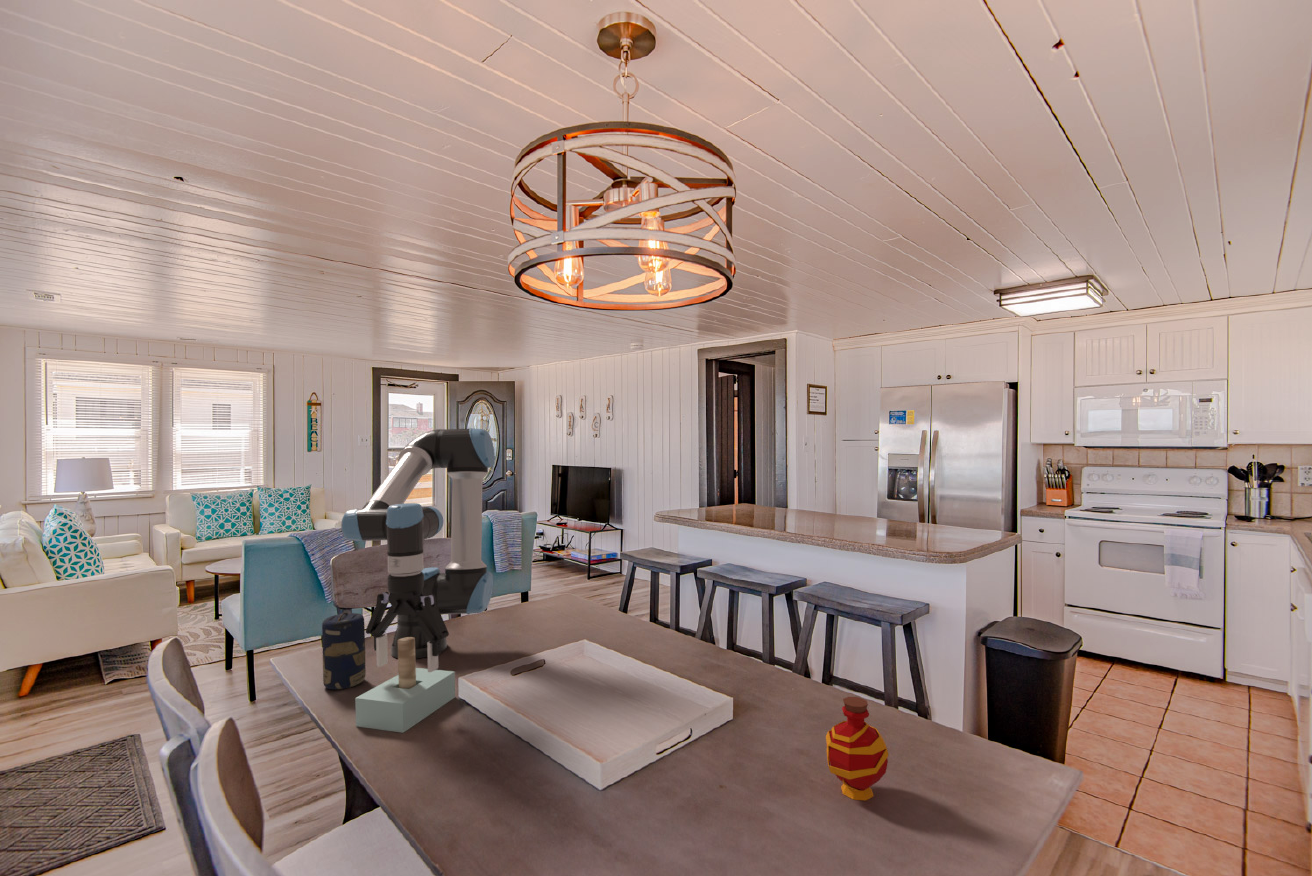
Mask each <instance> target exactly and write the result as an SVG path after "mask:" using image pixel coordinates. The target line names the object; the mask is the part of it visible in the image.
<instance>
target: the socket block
mask: <svg viewBox="0 0 1312 876" xmlns="http://www.w3.org/2000/svg"><path fill="white" fill-rule="evenodd" d="M455 698H456V671H453V670H442V669H436V670H434V671H432V672H428V668H422V667H416V686H414V687H412V688H411V689H403V688H399V675H398V674H397V675H395V676H394V677H392V678H389V679H388V680H386V681H384V682H381V684H379V685H377V686H374V687H372V688H371V689H369V690H368V691H365V692H364V693H362V694H360V695H359V696H357V697H355V699H354V700H355V701H354V702H355V727H357V728H367V729H374V730H380V731H386V732H387V731H388V732H395V733H396V732H397V733H402V734H403V733H406V731H408V730H409V729H411V728H413V726H415V725H417V724H418V723H419V722H421V721H423V720H424V719H426V718H427V717H428V716H430V715H431V714H432V713H434V712H436V711H438V709H441V708H442V707H443V706H445V705H446V704H447V703H449V702H451V701H452V700H453V699H455Z"/></svg>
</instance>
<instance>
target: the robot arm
mask: <svg viewBox="0 0 1312 876" xmlns="http://www.w3.org/2000/svg"><path fill="white" fill-rule="evenodd" d="M495 458H496V457H495V449H494V444H493V440H492V438H491V435H490V433H489V432H488V431H487V430H485V429H483V428H471V427H470V428H450V429H449V428H448V429H447V428H444V429H442V428H440V429H437V428H436V429H432V430H430V431H426V432H425V433H422V434H420V435H418V436H417V437H416V438H414V439H413V440H411V441H410V442H409V443H407V444H406V445H405V446H404V447H403V448H402V450H401V451H400V452H399V455H398V457H397V463H395V465H394V466H393V468H392V469H391V470H390V471H389V473H388V474H387V475H386V477H385V478H384V479H383V480H382V482H381V484H379V486H378V487H377V489H376V490H375V491H374V493H373V494H372V495H371V496H370V497H369V499H368V500H367V502H366V503H365V505H363V507H362V508H361V509H359V508H355V509H349V510H347V511H346V512H345V513H344V514H343V516H342V519H341V525H340V528H341V531H342V535H343V537H344V538H345V539H346V540H347V541H357V542H359V541H360V542H369V541H372V542H373V541H386V543H387V547H386V548H387V556H386V557H387V573H388V574H389V575H388V576H387V591H385V592H381V593H378V594H377V595H376V596H377V597H376V604H375V607H374V609H373V611H372V614H371V617H370V619H369V621H368V624H367V626H366V629H365V633H366V634H368V635H372V637H373V649H374V651H376V653H375V655H376V667H377V668H381V667H383V666H385V665H387V664H388V663H389V661H388V659H389V657H388V655H389V654H388V650H389V647H388V645H389V644H388V634H386V633H387V632H386V631H387V630H388V628H389V627H390V625H391V624H392V622H393V621H394V620H395V619H397V620H396V621H397V627H396V630H395V633H394V635H393V640H392V643H391V646H390V656H392V657H393V658H396V659H398V640H399V639H401V638H406V637H414V638H415V660H416V659H422V658H423V659H424V658H427V669H428V672H432V671H434V670H439V656H440V655H441V653H442V652H443V651H445V650H446V649H447V648H448V639H447V637H448V636H450V632H449V631H448V628H447V626H446V623H445V622H444V619H443V617H442V615H462V614H464V615H465V614H466V615H471V614H472V615H473V614H481V613H483V612H485V611H486V609H487V608H488V606H489V604H490V601H491V599H492V593H493V590H494V576H493V573H492V572H490V571H487V569H488V568H487V567H488V566H487V564H486V563H485V562H484V561H483V560H482V549H483V547H482V544H483V543H482V537H483V536H482V533H483V480H484V478H485V477H486V476H487V475H488V474H489V472H488V471H489V468H492V467H494V464H495V460H496V459H495ZM434 469H447V471H446V474H447V475H448V477H450V478H451V480H452V482H451V483H452V486H451V487H452V489H451V490H452V492H451V530H450V532H451V535H450V537H451V538H450V539H451V540H450V544H451V545H450V546H451V547H450V562H449V563H448V564H447V565H446V566H445V568H444V573H443V572H441V569H440V568H439V567H434V566H433V567H424V561H425V560H424V541H425V540H427V539H430V538H433V537H435V535H437V534H439V533H440V531H441V530H442V529H443V526H444V521H445V520H444V516H443V514H442V513H441V511H440V510H439V509H438V508H436V507H433V506H422V505H421V504H420V503H414V502H410V503H409V502H407V503H405V502H406V501H407V499H408V497H409V496H410V495H411V493H412V492H413V490H414V489H415V487H416V486H417V484H418V482H420V480H421V478H422V476H426V475H427V474H429V472H430V471H431V470H434ZM389 604H390V605H391V606H390V607H389V608H388V609H387V607H388V605H389ZM386 610H387V611H386ZM385 612H386V614H385ZM384 614H385V615H384ZM396 617H397V618H396Z"/></svg>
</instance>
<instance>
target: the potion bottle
mask: <svg viewBox="0 0 1312 876" xmlns="http://www.w3.org/2000/svg"><path fill="white" fill-rule="evenodd" d="M842 702H843V704H844V705H843V706H842V707H841V710H842V713H843V716H845V717H846V720H842V721H840V722H838V723H837V724H835V725H834V726H832V727H831V729H830V730H828V731H827V733H826V735H825V742H826V760H827V766H828V769H829V772H830V774H833V775H834V776H836V778H837V779H838V780H840V781H841V783H842V785H841V786H840V788H841V793H842V795H844V796H846V797H848V798H849V799H852V800H856V801H869V800H870V799H872V798H873V797H874V793H873V790H872V788H871V787H872V786H873V785H875V784H877V783H879V781H880V780H881V779H882V778H883V777H884V775H885V774H886V773H887V768H888V764H889V760H888V757H889V752H888V751H889V750H888V748H887V745H886V741H885V739H884V737H883V736H882V735H881V733H880V732H879V730H878V729H877V728H876V727H874V726H871V725H870V724H868V723H867V722H866V721H865V720H866V719H867V718H869V717H870V713H869V710H868V705H869V704H868V701H867V699H864V698H861V697H859V696H847V697H844V698H842Z"/></svg>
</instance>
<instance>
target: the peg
mask: <svg viewBox="0 0 1312 876" xmlns="http://www.w3.org/2000/svg"><path fill="white" fill-rule="evenodd" d="M416 664H417V663H416V659H415V638H414V637H406V638H401V639H399V640H398V658H397V666H398V667H397V669H398V670H397V671H398V673H397V675H399V688H403V689H411V688H412V687H414V686H416V668H417V667H416Z"/></svg>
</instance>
